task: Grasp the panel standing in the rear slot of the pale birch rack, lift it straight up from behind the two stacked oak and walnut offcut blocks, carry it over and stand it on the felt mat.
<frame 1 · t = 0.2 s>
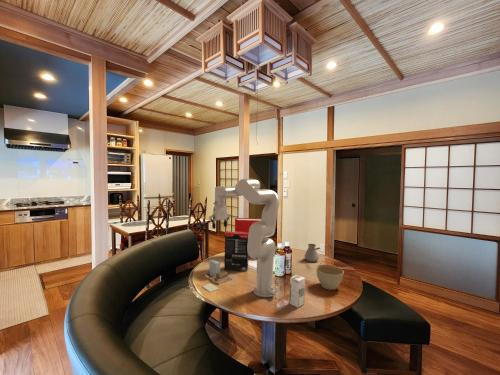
hand: (219, 227, 165), 31 cm above the table, fingers open, 9 cm apart
planter bowl: (329, 286, 143), on the table
panel: (214, 276, 156), on the table
syrup box: (296, 304, 122), on the table
book: (250, 257, 195), on the table
offcut oak: (221, 280, 149), on the table, touching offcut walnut
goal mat: (210, 287, 139), on the table
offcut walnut: (222, 276, 149), point 2 cm above the table, touching offcut oak
rack: (217, 277, 153), on the table
graphics card box: (236, 269, 168), on the table
coffee pot: (313, 262, 184), on the table
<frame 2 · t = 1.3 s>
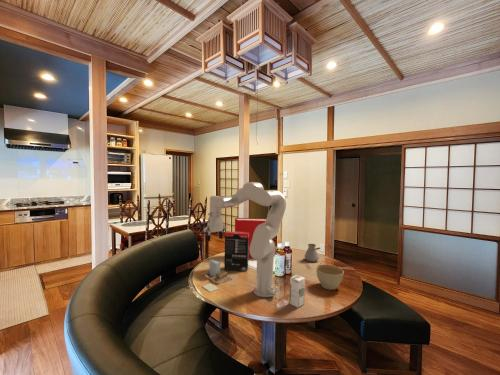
hand: (214, 239, 155), 25 cm above the table, fingers open, 9 cm apart
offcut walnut: (221, 277, 149), point 2 cm above the table, touching offcut oak, rack
everything else where it was.
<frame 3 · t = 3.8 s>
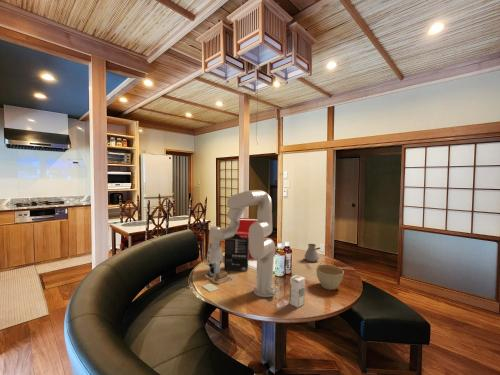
hand: (214, 271, 156), 3 cm above the table, fingers closed on panel, 3 cm apart
panel: (214, 275, 156), on the table, touching gripper
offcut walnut: (221, 276, 149), point 2 cm above the table, touching offcut oak
everything else where it was.
when the fingers open (4 cm above the table, at t = 10.2 s): panel stays where it is, resting on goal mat.
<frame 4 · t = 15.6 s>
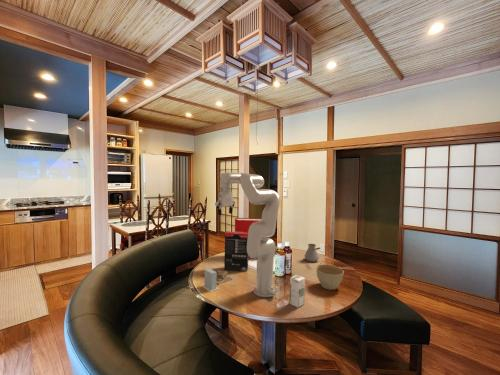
hand: (225, 214, 165), 40 cm above the table, fingers open, 9 cm apart
panel: (210, 287, 139), resting on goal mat
offcut oak: (222, 280, 150), on the table
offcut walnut: (222, 276, 150), point 2 cm above the table
everything else where it was.
at the end: panel inside the target area on the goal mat (0.1 cm from its centre), point 0.4 cm above the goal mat's base; panel tilted 0°; the gripper is holding nothing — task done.
